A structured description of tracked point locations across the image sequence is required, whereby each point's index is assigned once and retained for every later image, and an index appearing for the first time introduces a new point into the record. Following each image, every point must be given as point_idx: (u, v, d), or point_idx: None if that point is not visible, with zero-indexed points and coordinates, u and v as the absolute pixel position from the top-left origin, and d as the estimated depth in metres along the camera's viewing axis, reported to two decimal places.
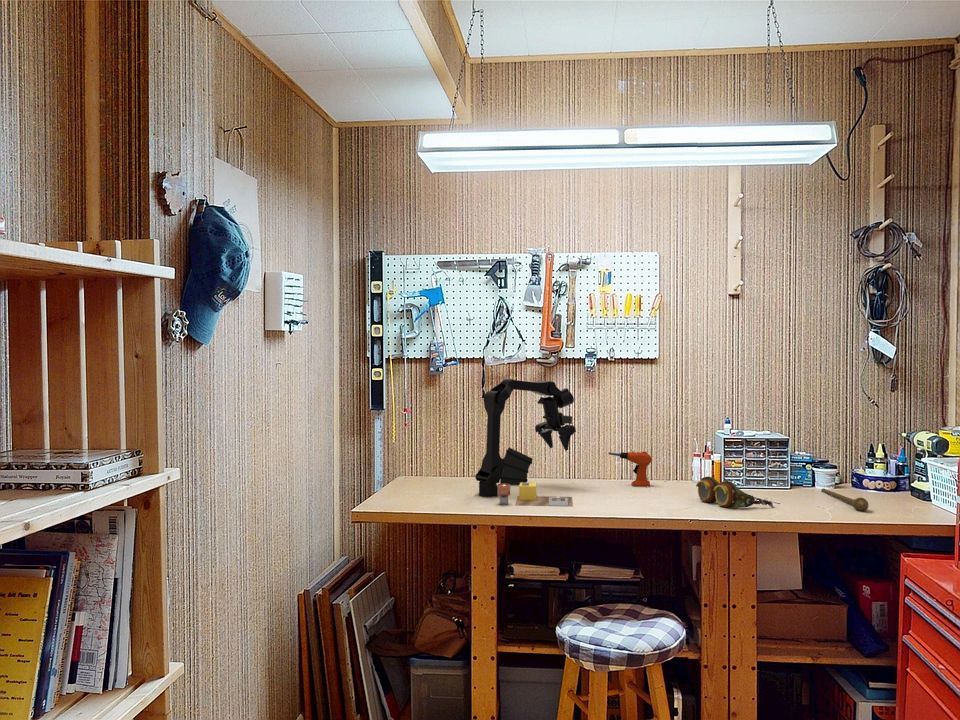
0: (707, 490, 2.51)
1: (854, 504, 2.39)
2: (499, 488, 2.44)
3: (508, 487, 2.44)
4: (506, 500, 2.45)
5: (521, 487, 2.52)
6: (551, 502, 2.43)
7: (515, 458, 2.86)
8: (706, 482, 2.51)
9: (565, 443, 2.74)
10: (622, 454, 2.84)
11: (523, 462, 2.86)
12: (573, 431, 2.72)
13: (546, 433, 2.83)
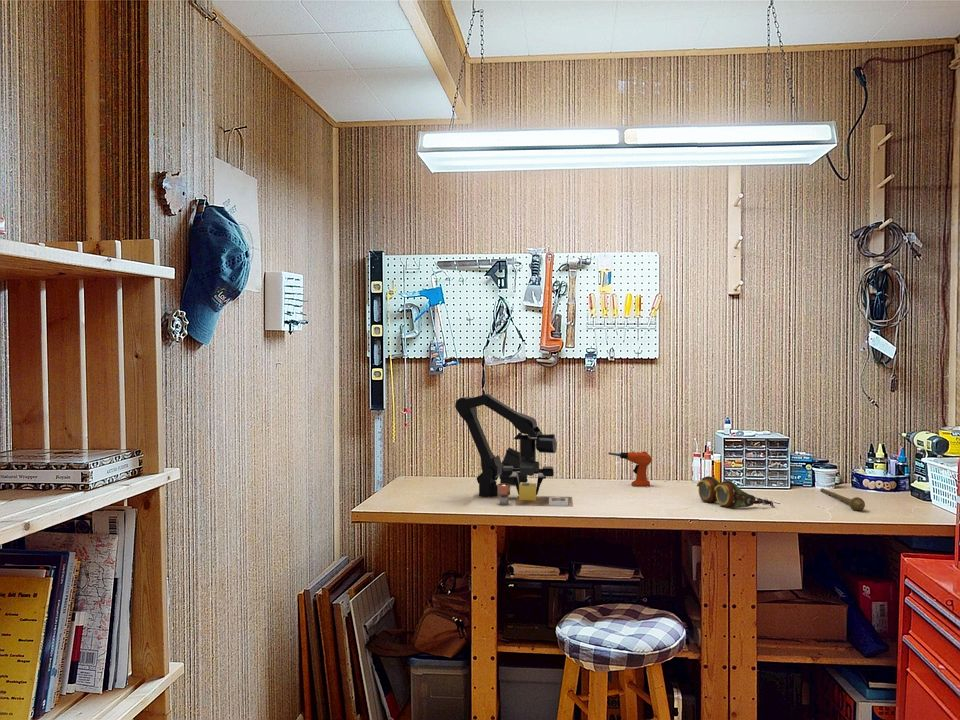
0: (708, 490, 2.52)
1: (850, 504, 2.39)
2: (499, 488, 2.44)
3: (508, 487, 2.44)
4: (506, 500, 2.45)
5: (521, 487, 2.52)
6: (551, 502, 2.43)
7: (515, 458, 2.86)
8: (707, 482, 2.51)
9: None
10: (622, 454, 2.84)
11: None
12: None
13: None
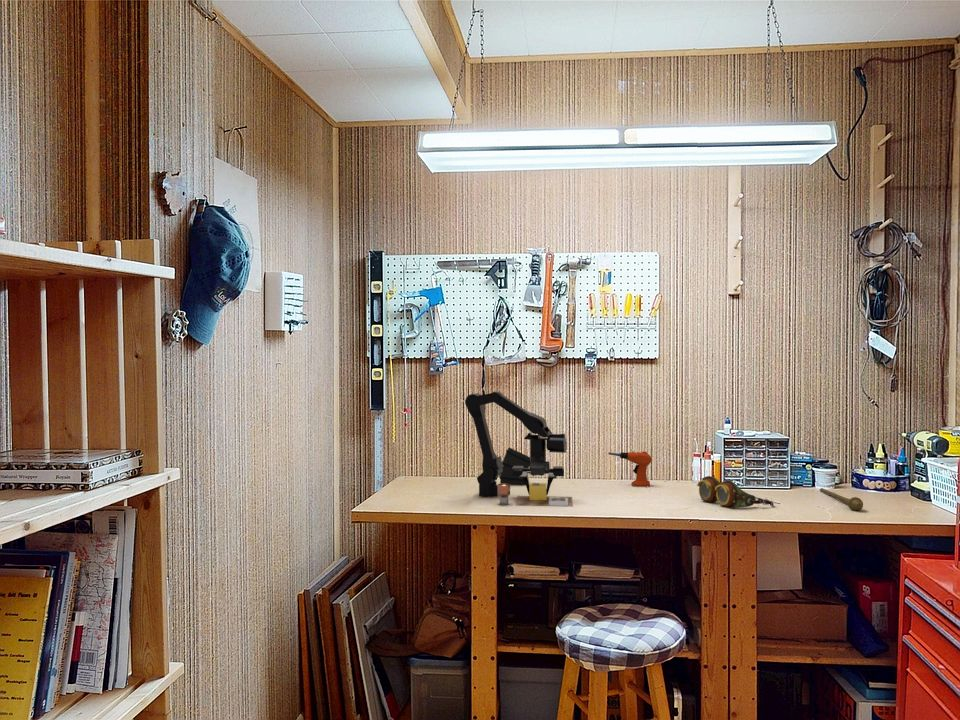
0: (708, 490, 2.52)
1: (849, 503, 2.39)
2: (499, 488, 2.44)
3: (508, 487, 2.44)
4: (506, 500, 2.45)
5: (531, 487, 2.52)
6: (551, 502, 2.43)
7: (515, 458, 2.86)
8: (707, 482, 2.52)
9: None
10: (622, 454, 2.84)
11: (523, 462, 2.86)
12: None
13: None
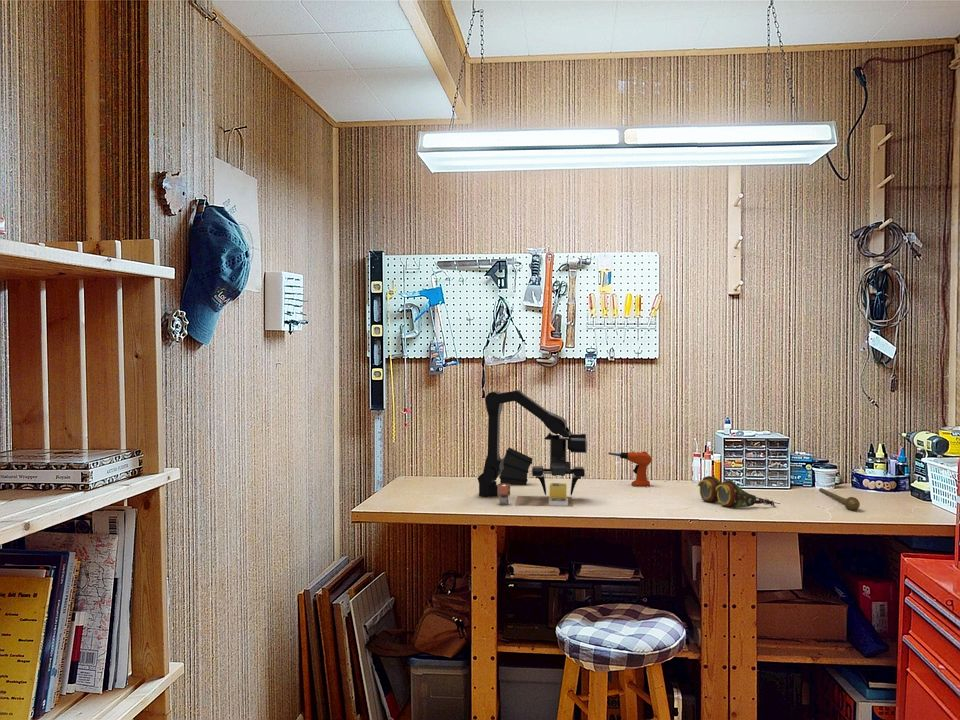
0: (709, 490, 2.52)
1: (845, 503, 2.40)
2: (499, 488, 2.44)
3: (508, 487, 2.44)
4: (506, 500, 2.45)
5: (551, 487, 2.51)
6: (551, 502, 2.43)
7: (515, 458, 2.86)
8: (708, 482, 2.52)
9: None
10: (622, 454, 2.84)
11: (523, 462, 2.86)
12: None
13: (572, 477, 2.54)
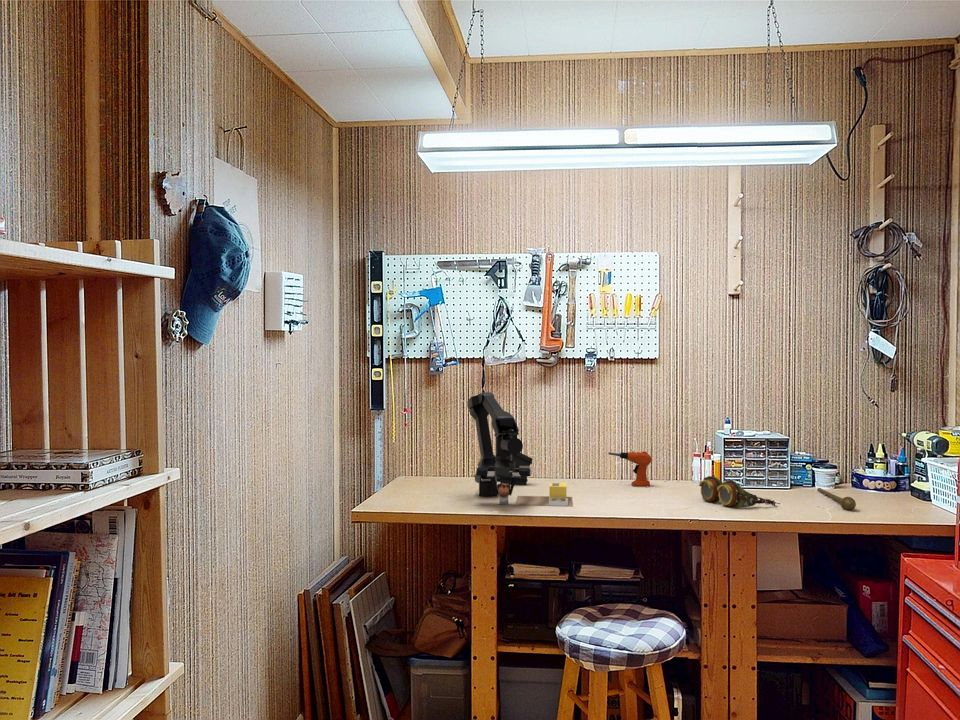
0: (710, 490, 2.52)
1: (841, 503, 2.40)
2: (499, 488, 2.44)
3: (508, 487, 2.44)
4: (506, 500, 2.45)
5: (551, 487, 2.51)
6: (551, 502, 2.43)
7: (515, 458, 2.86)
8: (709, 482, 2.52)
9: None
10: (622, 454, 2.84)
11: (523, 462, 2.86)
12: None
13: None
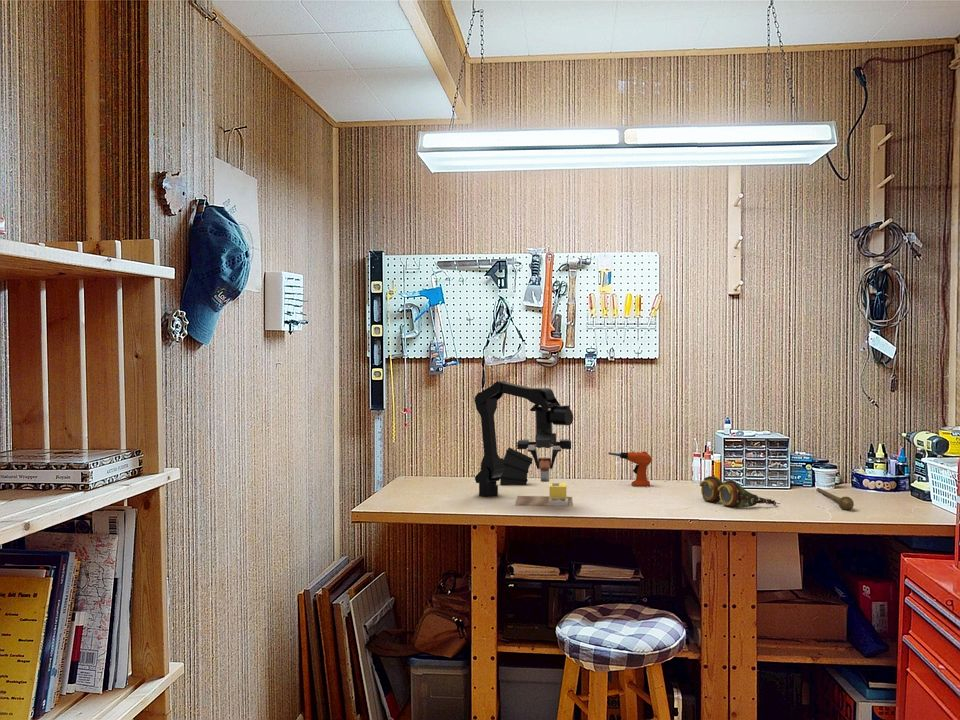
0: (711, 490, 2.52)
1: (839, 503, 2.41)
2: (540, 461, 2.44)
3: (549, 460, 2.44)
4: (547, 474, 2.44)
5: (551, 487, 2.51)
6: (551, 502, 2.43)
7: (515, 458, 2.86)
8: (710, 482, 2.52)
9: None
10: (622, 454, 2.84)
11: (523, 462, 2.86)
12: None
13: None
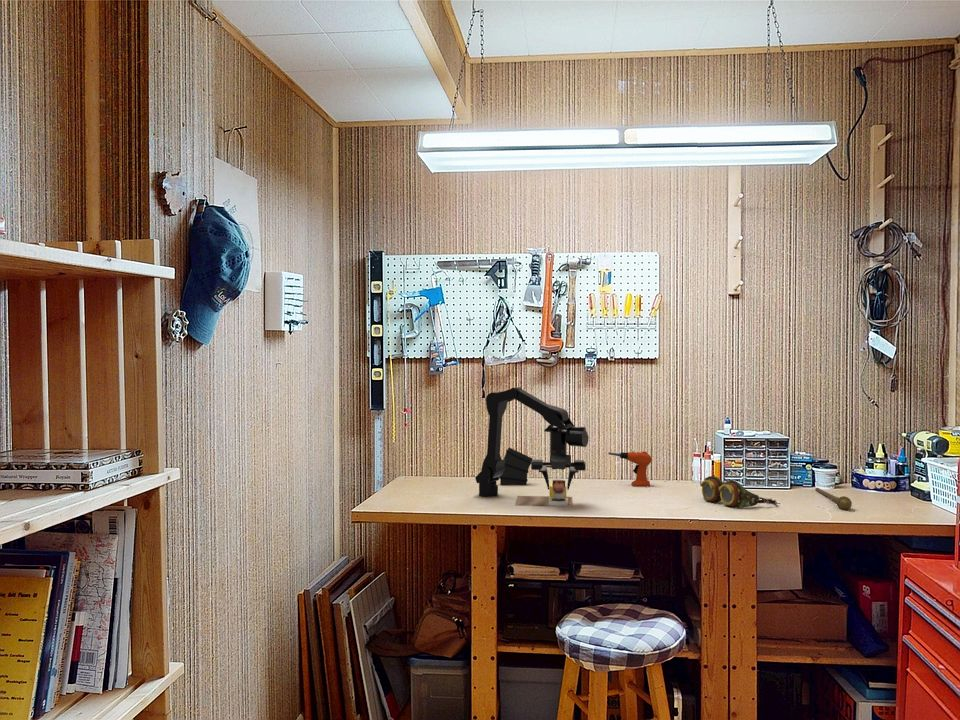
0: (711, 490, 2.52)
1: (837, 503, 2.41)
2: (554, 484, 2.44)
3: (563, 483, 2.44)
4: (561, 496, 2.45)
5: (551, 487, 2.51)
6: (551, 502, 2.43)
7: (515, 458, 2.86)
8: (711, 482, 2.52)
9: None
10: (622, 454, 2.84)
11: (523, 462, 2.86)
12: (531, 467, 2.45)
13: (569, 471, 2.46)
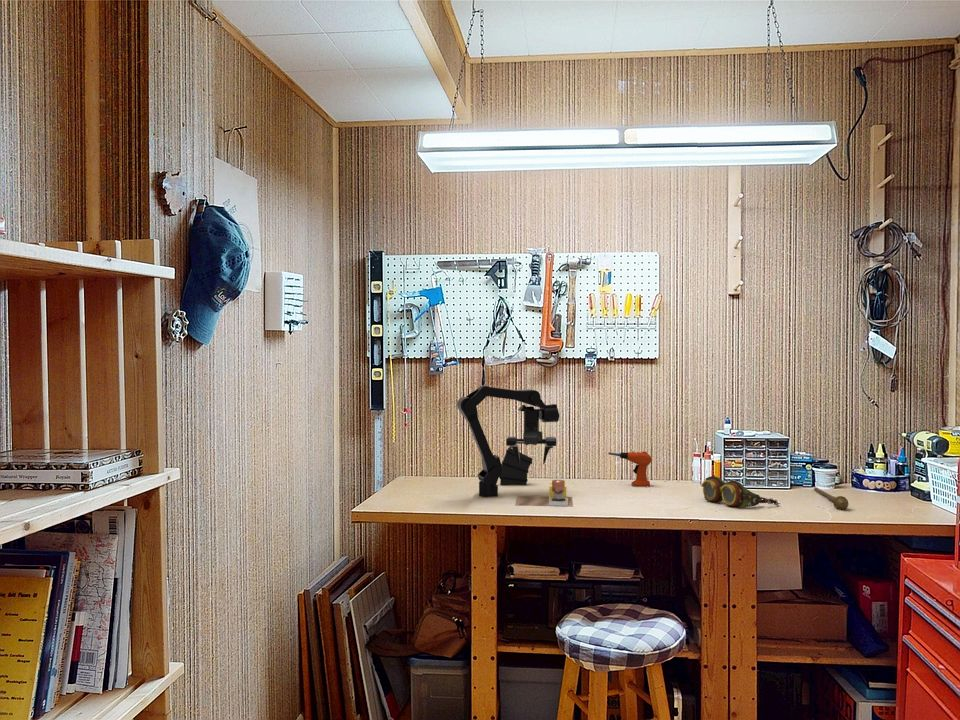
0: (713, 490, 2.52)
1: (834, 502, 2.41)
2: (554, 484, 2.44)
3: (563, 483, 2.44)
4: (561, 496, 2.44)
5: (551, 487, 2.51)
6: (551, 502, 2.43)
7: (515, 458, 2.86)
8: (712, 482, 2.52)
9: None
10: (622, 454, 2.84)
11: (523, 462, 2.86)
12: None
13: None
